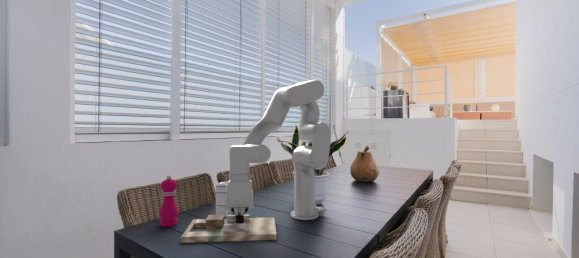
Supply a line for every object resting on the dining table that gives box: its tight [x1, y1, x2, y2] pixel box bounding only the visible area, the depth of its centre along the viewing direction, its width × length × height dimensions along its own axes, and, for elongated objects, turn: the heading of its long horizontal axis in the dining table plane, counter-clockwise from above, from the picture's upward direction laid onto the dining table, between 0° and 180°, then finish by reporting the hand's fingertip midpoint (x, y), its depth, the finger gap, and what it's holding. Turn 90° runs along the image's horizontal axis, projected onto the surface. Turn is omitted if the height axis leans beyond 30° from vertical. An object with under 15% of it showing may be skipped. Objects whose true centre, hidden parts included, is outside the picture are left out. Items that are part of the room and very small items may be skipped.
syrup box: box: [215, 181, 234, 218], centre depth 127 cm, size 6×6×14 cm
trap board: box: [180, 214, 277, 244], centre depth 108 cm, size 33×18×4 cm, turn 96°
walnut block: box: [205, 214, 225, 229], centre depth 107 cm, size 6×6×4 cm
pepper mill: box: [158, 174, 179, 228], centre depth 115 cm, size 7×7×20 cm
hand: (239, 224), depth 108 cm, fingers closed
